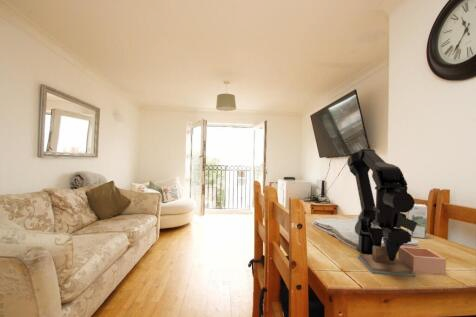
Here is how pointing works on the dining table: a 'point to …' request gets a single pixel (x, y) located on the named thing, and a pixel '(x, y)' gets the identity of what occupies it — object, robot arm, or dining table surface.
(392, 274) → the rubber mat
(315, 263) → the dining table surface
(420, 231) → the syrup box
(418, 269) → the pink open tray
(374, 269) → the walnut lid
